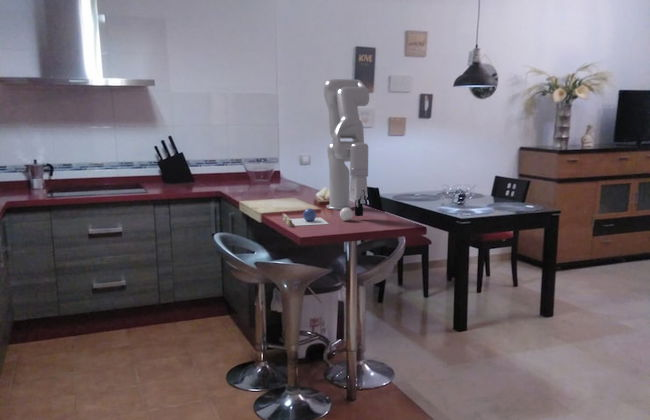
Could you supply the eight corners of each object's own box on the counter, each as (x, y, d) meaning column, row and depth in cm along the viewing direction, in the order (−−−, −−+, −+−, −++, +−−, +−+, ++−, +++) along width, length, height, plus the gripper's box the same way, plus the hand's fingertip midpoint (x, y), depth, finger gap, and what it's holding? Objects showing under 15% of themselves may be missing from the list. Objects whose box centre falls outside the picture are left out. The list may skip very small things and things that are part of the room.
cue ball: (346, 203, 225) (351, 213, 228) (335, 210, 225) (340, 220, 227) (352, 208, 221) (356, 218, 224) (341, 215, 220) (345, 225, 223)
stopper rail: (282, 219, 228) (282, 213, 227) (284, 219, 228) (284, 213, 228) (289, 226, 213) (289, 220, 212) (292, 226, 213) (291, 220, 212)
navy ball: (310, 204, 225) (317, 215, 226) (299, 212, 225) (307, 222, 226) (312, 207, 219) (319, 217, 221) (301, 214, 219) (308, 225, 221)
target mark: (288, 219, 228) (288, 219, 227) (320, 217, 231) (320, 217, 231) (295, 226, 214) (295, 225, 214) (329, 224, 218) (329, 223, 218)
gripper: (345, 171, 231) (345, 213, 234) (356, 175, 216) (355, 219, 220) (362, 170, 232) (361, 212, 236) (373, 174, 218) (373, 218, 221)
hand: (358, 215), depth 228 cm, fingers closed
